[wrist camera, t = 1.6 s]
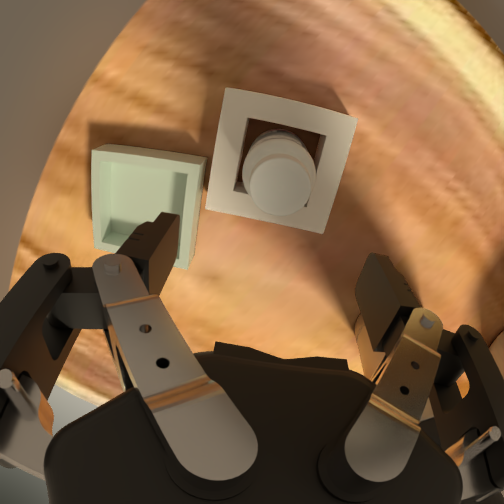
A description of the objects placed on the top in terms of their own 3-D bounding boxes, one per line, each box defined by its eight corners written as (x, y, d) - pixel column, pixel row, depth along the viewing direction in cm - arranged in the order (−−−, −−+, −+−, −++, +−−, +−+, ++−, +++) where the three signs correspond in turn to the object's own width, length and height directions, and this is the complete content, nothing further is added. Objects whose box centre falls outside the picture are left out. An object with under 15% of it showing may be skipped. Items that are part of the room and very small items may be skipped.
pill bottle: (304, 185, 29) (316, 229, 20) (248, 181, 29) (236, 224, 20) (309, 129, 26) (326, 150, 17) (250, 126, 26) (237, 144, 18)
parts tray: (207, 157, 28) (200, 165, 25) (194, 254, 33) (187, 269, 31) (106, 143, 27) (91, 150, 25) (106, 235, 33) (94, 248, 30)
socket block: (349, 115, 25) (358, 118, 22) (319, 220, 30) (323, 234, 28) (230, 87, 24) (225, 87, 22) (211, 197, 30) (205, 209, 27)
